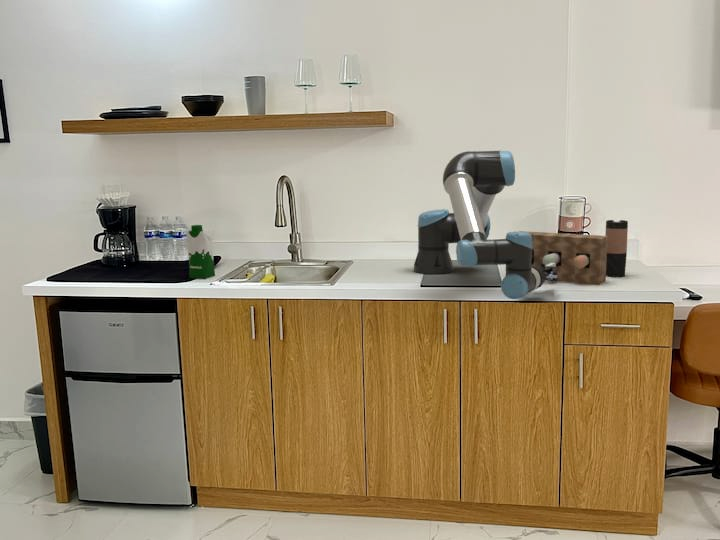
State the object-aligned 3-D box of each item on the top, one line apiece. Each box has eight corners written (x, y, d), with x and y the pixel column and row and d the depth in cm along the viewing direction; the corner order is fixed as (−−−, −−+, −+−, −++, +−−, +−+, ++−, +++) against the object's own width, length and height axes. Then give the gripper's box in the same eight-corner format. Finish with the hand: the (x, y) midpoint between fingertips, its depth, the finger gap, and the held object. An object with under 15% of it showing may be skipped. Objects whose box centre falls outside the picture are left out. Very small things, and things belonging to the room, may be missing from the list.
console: (511, 276, 271) (511, 233, 268) (519, 273, 278) (520, 231, 275) (599, 284, 254) (601, 238, 251) (605, 280, 260) (607, 235, 258)
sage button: (542, 266, 258) (542, 254, 257) (549, 263, 264) (549, 251, 263) (554, 267, 255) (555, 255, 255) (561, 264, 261) (561, 252, 260)
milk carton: (186, 278, 280) (183, 226, 276) (198, 274, 288) (195, 223, 285) (206, 279, 277) (203, 226, 273) (218, 275, 285) (215, 223, 282)
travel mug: (614, 278, 265) (617, 222, 262) (599, 274, 272) (601, 220, 268) (630, 275, 269) (632, 221, 265) (614, 272, 275) (616, 219, 272)
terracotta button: (573, 267, 255) (573, 255, 254) (579, 264, 260) (579, 252, 260) (586, 268, 252) (586, 256, 252) (592, 265, 258) (592, 253, 257)
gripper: (509, 288, 233) (534, 276, 252) (549, 292, 226) (572, 279, 245) (509, 265, 231) (534, 254, 251) (550, 268, 225) (573, 257, 244)
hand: (553, 266), depth 248 cm, fingers closed
